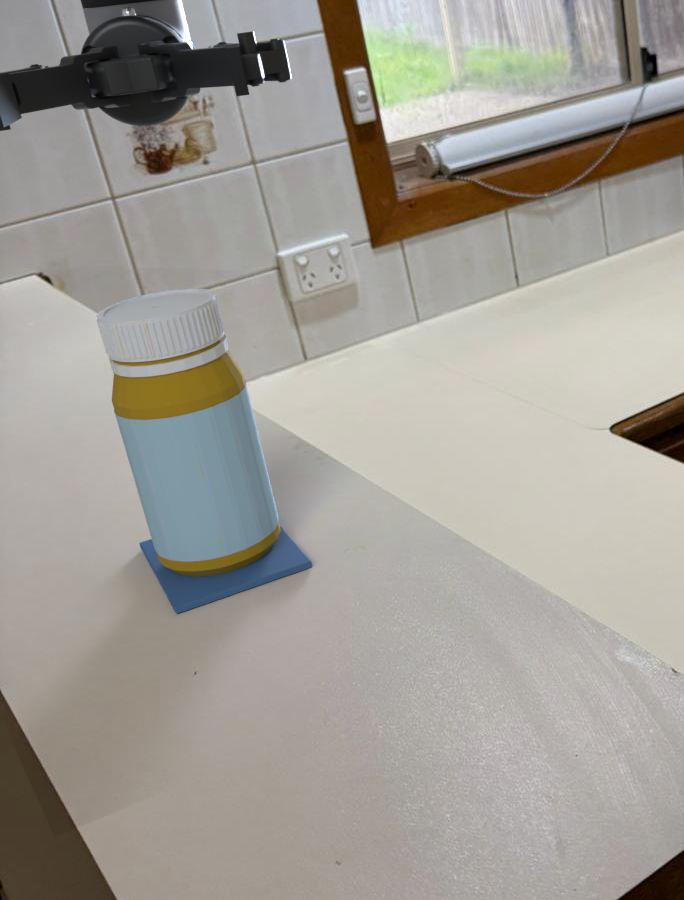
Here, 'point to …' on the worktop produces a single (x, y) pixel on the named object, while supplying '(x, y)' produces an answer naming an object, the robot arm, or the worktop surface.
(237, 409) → the bottle
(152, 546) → the blue mat
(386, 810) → the worktop surface
